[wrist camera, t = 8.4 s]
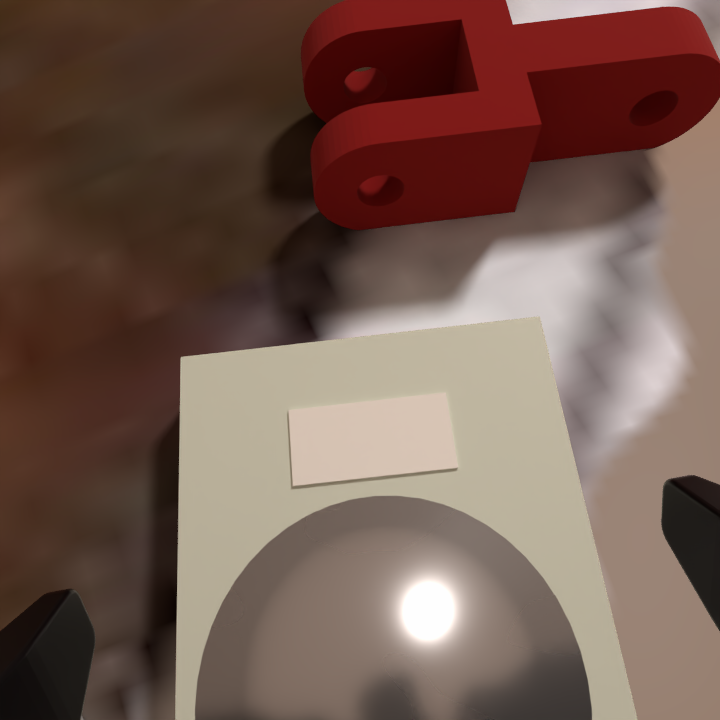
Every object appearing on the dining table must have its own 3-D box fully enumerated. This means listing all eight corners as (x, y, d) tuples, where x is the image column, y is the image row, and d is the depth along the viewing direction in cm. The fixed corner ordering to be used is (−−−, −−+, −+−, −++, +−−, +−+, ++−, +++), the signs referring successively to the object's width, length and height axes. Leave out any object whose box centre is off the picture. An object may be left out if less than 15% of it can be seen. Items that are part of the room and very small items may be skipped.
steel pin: (344, 715, 18) (217, 1000, 5) (321, 582, 19) (178, 537, 6) (467, 686, 18) (657, 893, 5) (436, 557, 19) (520, 462, 7)
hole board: (670, 989, 15) (722, 1061, 13) (202, 1038, 15) (167, 1119, 13) (524, 346, 22) (540, 315, 20) (202, 383, 22) (179, 355, 20)
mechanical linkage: (321, 237, 25) (305, 152, 20) (309, 106, 27) (292, 5, 23) (706, 192, 25) (778, 96, 20) (654, 66, 27) (708, -44, 23)
